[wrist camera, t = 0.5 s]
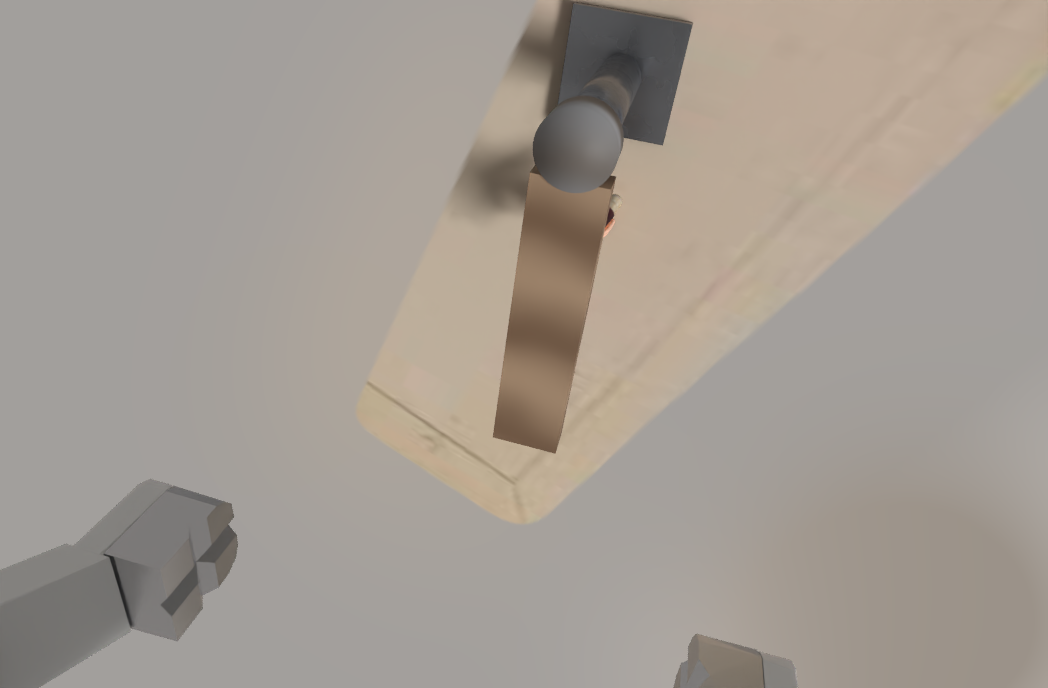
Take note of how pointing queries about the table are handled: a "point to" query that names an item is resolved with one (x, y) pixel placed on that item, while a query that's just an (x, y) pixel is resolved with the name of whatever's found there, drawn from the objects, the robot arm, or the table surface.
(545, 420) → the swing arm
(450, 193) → the table surface
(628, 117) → the arm post
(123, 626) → the robot arm
